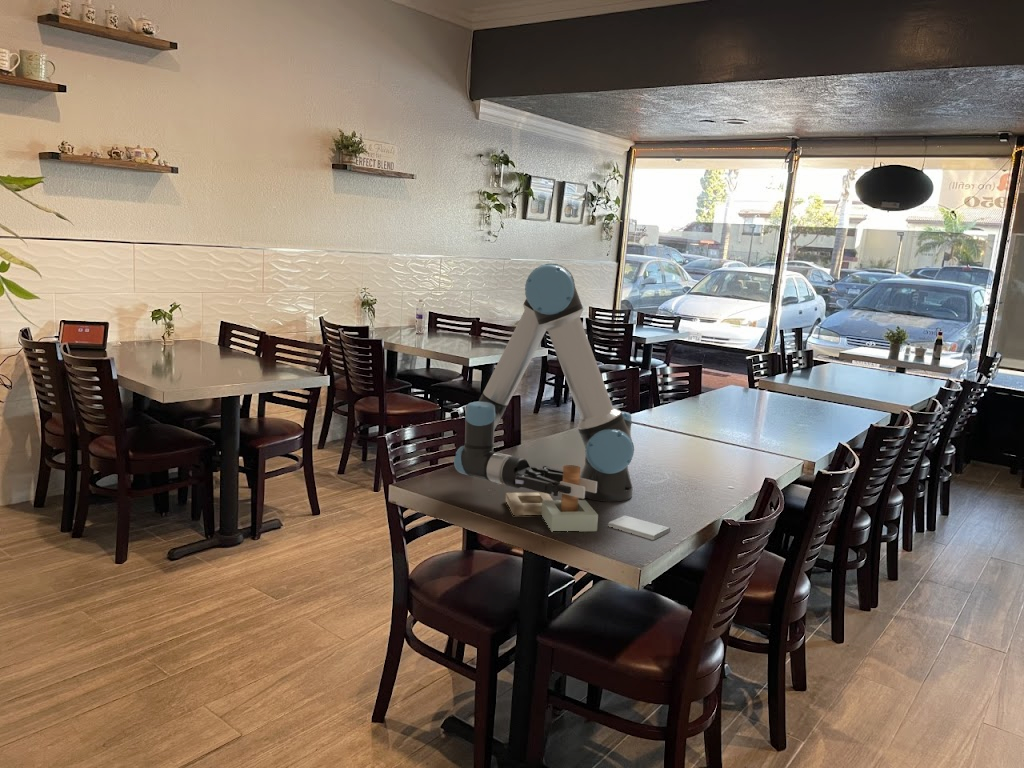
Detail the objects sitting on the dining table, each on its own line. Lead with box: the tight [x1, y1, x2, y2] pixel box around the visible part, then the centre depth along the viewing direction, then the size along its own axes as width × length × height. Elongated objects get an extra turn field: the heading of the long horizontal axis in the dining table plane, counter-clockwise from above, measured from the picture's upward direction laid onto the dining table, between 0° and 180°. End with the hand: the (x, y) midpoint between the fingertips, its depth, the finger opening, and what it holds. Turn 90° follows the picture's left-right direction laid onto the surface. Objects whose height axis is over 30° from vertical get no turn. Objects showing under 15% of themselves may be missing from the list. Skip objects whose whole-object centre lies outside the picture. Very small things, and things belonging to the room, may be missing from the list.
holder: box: [505, 491, 554, 516], centre depth 198 cm, size 11×11×2 cm
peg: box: [561, 464, 581, 512], centre depth 187 cm, size 4×4×14 cm
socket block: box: [541, 499, 599, 533], centre depth 188 cm, size 11×11×4 cm
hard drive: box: [607, 515, 671, 541], centre depth 187 cm, size 2×8×12 cm
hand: (590, 490), depth 184 cm, fingers open, 5 cm apart
